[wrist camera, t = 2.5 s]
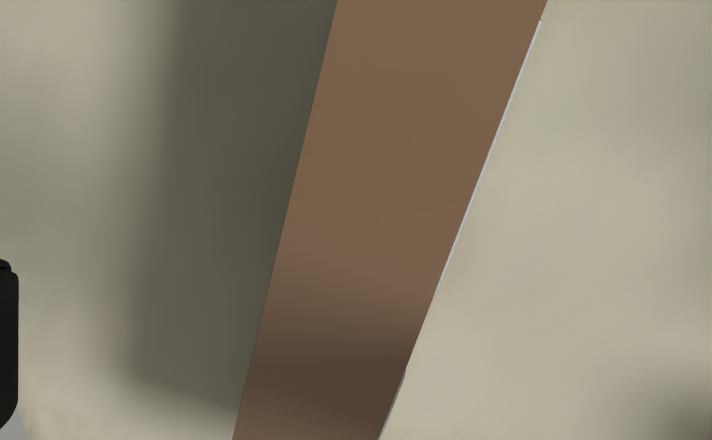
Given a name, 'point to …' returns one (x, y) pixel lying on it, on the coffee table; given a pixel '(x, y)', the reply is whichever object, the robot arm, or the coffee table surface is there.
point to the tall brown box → (378, 206)
